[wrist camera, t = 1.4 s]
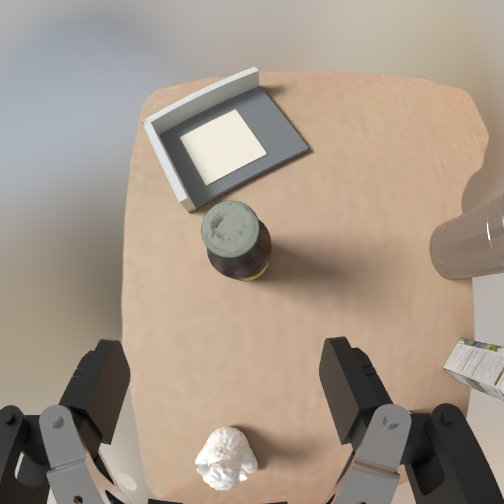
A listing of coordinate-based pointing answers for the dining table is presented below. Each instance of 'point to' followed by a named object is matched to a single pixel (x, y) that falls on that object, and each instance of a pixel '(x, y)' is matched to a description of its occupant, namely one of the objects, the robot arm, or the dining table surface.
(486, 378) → the syrup box
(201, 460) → the sitting furry creature
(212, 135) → the grey tray
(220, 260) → the sauce bottle
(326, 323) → the dining table surface
